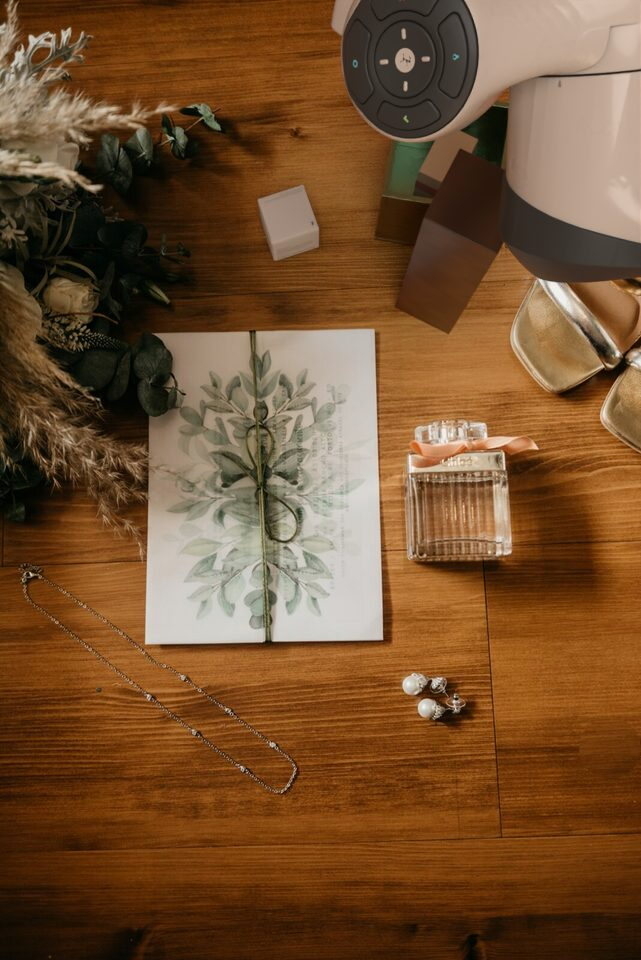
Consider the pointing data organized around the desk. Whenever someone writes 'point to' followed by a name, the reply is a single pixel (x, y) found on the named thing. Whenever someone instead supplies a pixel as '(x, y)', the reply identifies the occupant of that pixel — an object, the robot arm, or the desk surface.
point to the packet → (441, 162)
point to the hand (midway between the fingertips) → (494, 16)
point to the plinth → (454, 243)
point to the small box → (289, 222)
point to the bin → (403, 165)
